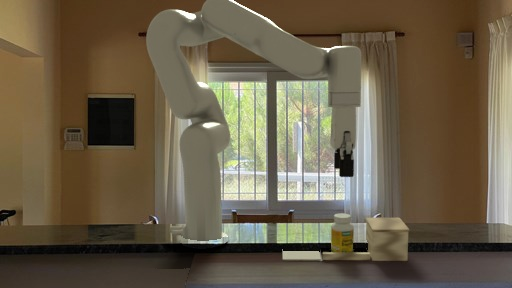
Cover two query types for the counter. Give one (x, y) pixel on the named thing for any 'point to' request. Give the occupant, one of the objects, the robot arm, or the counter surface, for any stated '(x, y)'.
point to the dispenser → (379, 242)
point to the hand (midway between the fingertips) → (343, 172)
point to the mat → (301, 255)
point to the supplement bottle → (342, 233)
